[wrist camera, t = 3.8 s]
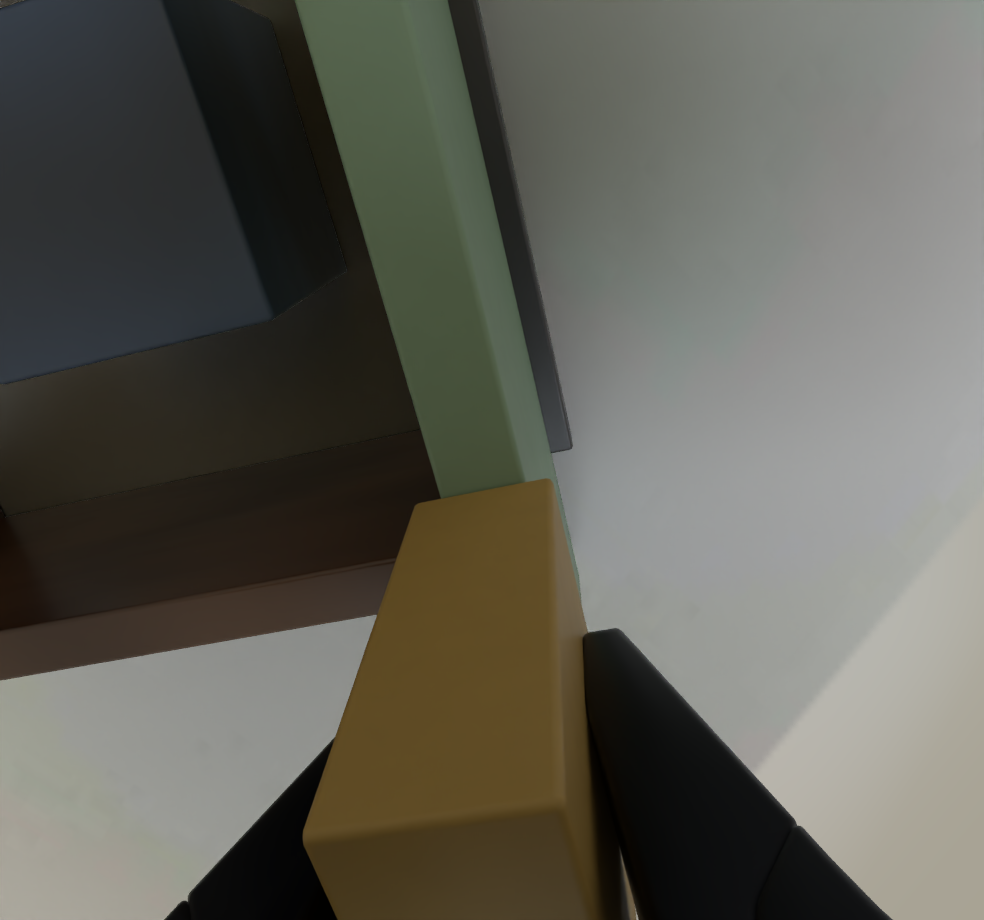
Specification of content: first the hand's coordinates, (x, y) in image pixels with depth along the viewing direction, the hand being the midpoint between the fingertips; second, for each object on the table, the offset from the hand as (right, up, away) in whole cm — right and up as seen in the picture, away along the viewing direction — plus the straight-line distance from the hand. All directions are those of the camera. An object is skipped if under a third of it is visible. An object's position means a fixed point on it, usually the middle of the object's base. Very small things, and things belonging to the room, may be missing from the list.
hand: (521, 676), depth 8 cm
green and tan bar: (-1, +5, +4) cm, 7 cm away
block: (-5, +7, +4) cm, 10 cm away
